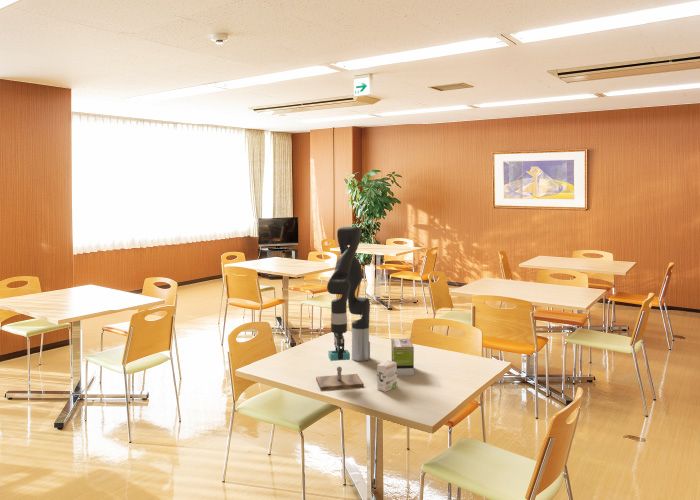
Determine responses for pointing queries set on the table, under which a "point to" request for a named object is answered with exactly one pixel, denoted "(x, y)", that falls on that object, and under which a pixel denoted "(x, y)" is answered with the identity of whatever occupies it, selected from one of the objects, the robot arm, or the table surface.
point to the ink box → (386, 375)
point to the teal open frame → (334, 355)
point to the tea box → (403, 356)
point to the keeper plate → (339, 381)
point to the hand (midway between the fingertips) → (339, 357)
